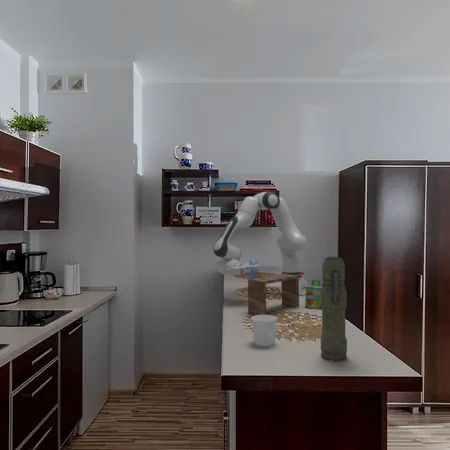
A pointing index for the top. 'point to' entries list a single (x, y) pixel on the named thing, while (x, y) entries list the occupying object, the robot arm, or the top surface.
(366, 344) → the top surface
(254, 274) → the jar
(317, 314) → the top surface
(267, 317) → the cup
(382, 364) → the top surface
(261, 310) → the riser
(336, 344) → the thermos
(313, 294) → the chalk box
